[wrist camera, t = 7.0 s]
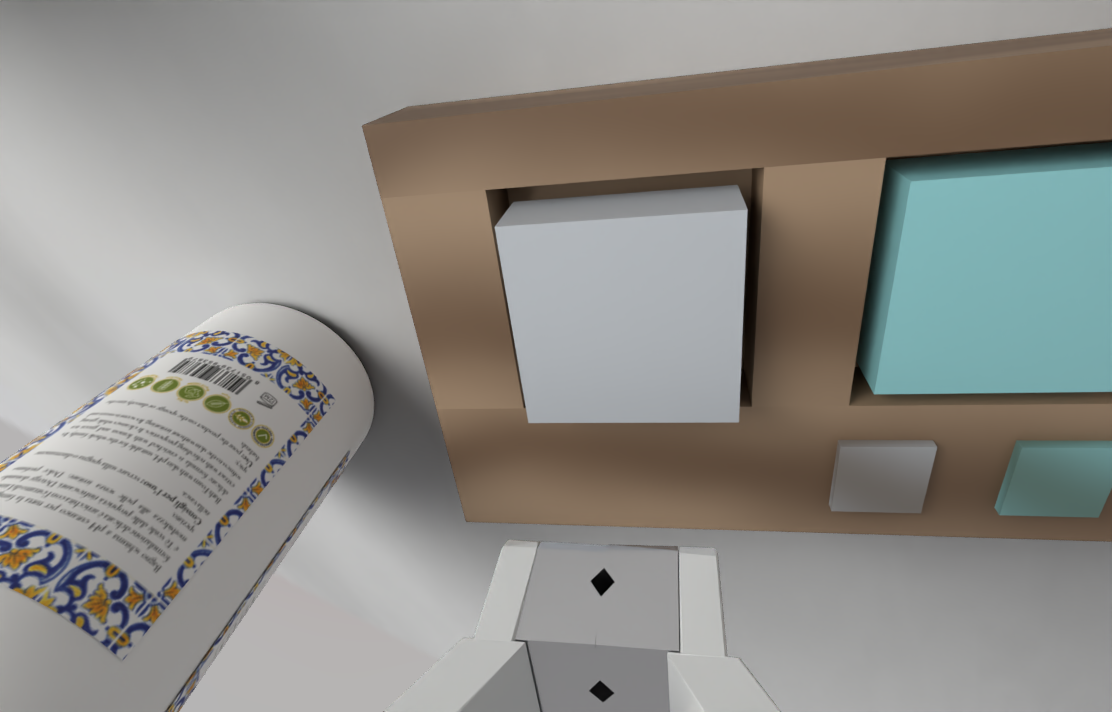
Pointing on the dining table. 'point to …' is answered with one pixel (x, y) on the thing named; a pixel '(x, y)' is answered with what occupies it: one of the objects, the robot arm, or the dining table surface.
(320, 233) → the dining table surface
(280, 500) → the bath foam
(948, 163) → the teal key
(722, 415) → the grey key
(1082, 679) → the dining table surface
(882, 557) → the dining table surface
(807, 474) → the keypad
